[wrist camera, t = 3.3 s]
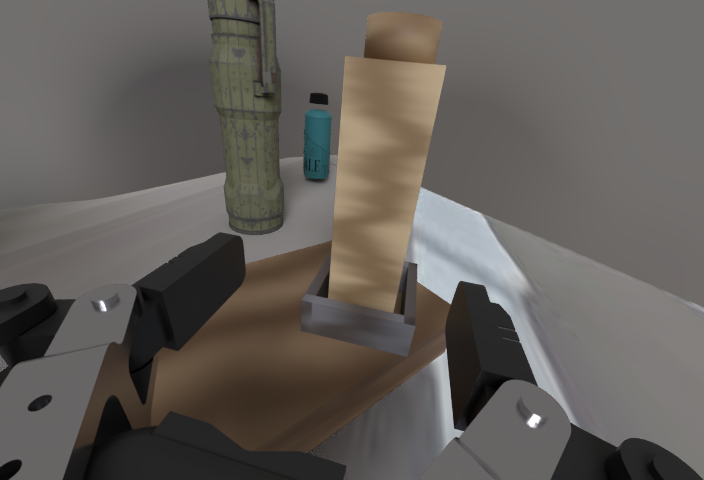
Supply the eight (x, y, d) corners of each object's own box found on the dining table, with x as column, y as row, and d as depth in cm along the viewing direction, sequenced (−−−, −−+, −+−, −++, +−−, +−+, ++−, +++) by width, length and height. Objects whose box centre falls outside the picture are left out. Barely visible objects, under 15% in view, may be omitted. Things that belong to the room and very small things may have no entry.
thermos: (257, 206, 54) (241, -38, 38) (300, 226, 49) (303, -53, 32) (212, 218, 48) (170, -69, 32) (256, 244, 42) (231, -94, 26)
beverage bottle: (328, 178, 76) (333, 94, 66) (329, 185, 70) (334, 95, 60) (303, 176, 75) (304, 91, 65) (302, 184, 69) (303, 91, 60)
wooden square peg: (326, 321, 23) (349, 6, 13) (341, 285, 27) (366, 28, 18) (388, 336, 22) (457, 13, 13) (393, 296, 26) (448, 34, 17)
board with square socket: (120, 347, 25) (89, 270, 21) (347, 268, 39) (352, 214, 35) (142, 595, 13) (81, 525, 9) (452, 355, 27) (477, 289, 24)
